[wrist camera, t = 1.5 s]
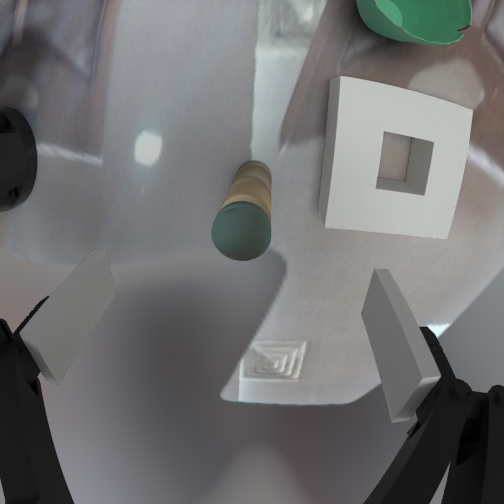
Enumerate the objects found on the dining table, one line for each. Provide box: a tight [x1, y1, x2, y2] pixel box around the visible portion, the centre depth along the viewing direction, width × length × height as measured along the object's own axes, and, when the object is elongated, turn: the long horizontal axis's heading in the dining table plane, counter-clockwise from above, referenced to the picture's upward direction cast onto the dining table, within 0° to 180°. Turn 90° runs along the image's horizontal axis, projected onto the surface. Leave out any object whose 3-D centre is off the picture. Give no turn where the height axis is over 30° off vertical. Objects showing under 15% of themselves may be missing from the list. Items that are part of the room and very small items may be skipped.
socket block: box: [318, 76, 473, 239], centre depth 26 cm, size 14×14×5 cm
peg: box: [211, 161, 271, 261], centre depth 25 cm, size 4×4×14 cm
